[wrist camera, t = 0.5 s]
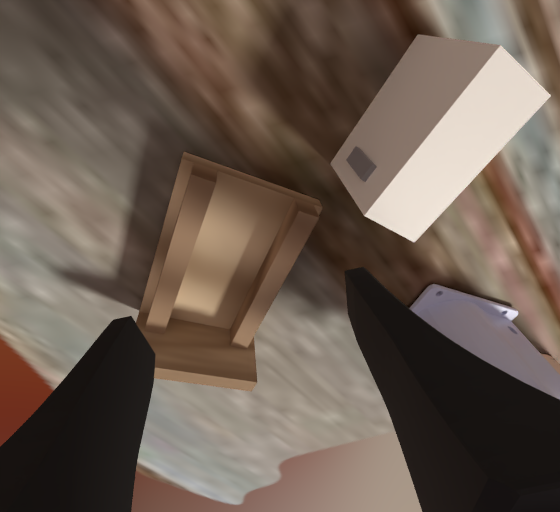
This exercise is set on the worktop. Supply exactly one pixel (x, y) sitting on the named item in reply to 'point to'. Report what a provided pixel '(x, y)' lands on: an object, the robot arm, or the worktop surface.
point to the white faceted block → (434, 130)
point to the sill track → (219, 271)
